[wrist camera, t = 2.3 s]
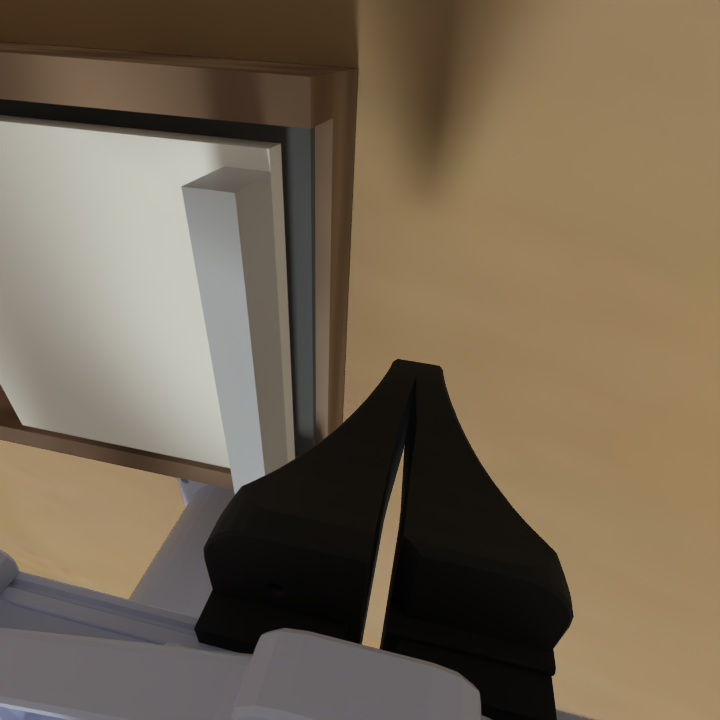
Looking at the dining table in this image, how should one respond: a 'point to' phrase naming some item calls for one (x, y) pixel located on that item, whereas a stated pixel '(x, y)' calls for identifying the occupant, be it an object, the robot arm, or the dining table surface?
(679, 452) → the dining table surface
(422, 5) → the dining table surface
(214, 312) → the sliding door
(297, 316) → the panel
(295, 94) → the tray
